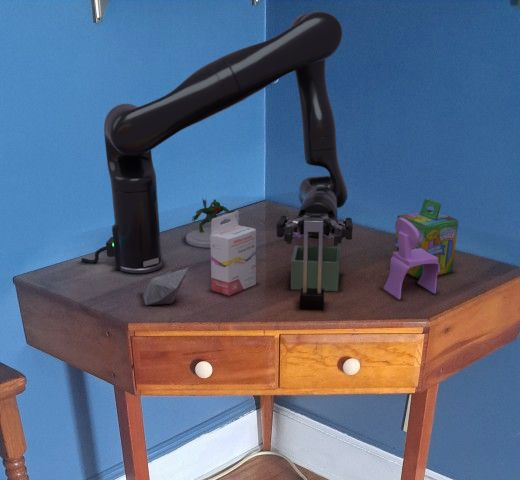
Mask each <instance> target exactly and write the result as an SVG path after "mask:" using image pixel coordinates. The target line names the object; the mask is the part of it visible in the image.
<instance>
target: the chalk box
mask: <svg viewBox="0 0 520 480" xmlns="http://www.w3.org/2000/svg"><path fill="white" fill-rule="evenodd" d="M441 206H442V204H441V202H439V201H435V200H432V199H429V198H425V199H424V200H423V203H422V207H421V210H419V211H414V212H409V213H404V214H399V215H397V217H396V218H397V219H398V218H400V217H402V218H404V219H406V220H408V221H409V222H410V223H412V224H413V225H414V226H415V227H416V229H417V230H418V232H419V236H420V239H419V245H418V246H417V247H414V248H413V249H418V248H422V249H423V250H425V251H426V252H428V253H430V254H431V255H434V256H436V257H438V263H439V270H438V275H437V277H438V276H441V275H446V274H450V273H452V272H453V267H454V266H453V265H454V258H455V250H456V243H457V236H458V235H457V234H458V229H459V228H458V227H459V220H458V219H457V218H455V217H452V216H450V215H447V214H444V213H441V212H440V210H441ZM428 207H432V208H433V210H432V209H428ZM397 219H396V220H397ZM393 248H394V250H393V252H397V251H399V243H398V233H397V231H396V230H395V240H394V247H393ZM413 249H412V250H413ZM423 270H424V265H423V264H421V265H417V266H413V267H411V268H409V270H408V271H407V273H406V275H409V276H411V277H413V278H416V280H418V281H419V280H420V278H421V276H422V273H423Z"/></svg>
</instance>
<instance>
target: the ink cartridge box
mask: <svg viewBox="0 0 520 480" xmlns="http://www.w3.org/2000/svg"><path fill="white" fill-rule="evenodd" d="M234 211H235V212H232V213H225V214H222V215H220V216H216V217H217V218H213V219H212V221H210V228H211V235H210V244H211V248H210V272H211V273H210V274H211V276H210V277H211V291H212V292H215V293H218V294H221V295H225V296H228V297H230V296H232V295H234V294H237V293H239V292H241V291H244V290H246V289H248V288H252V287H253V286H256V285H257V229H256V228H253V227H249V226H244V225H240V224H239V223H240V222H239V219H240V210H234ZM225 220H229V222H225V223H222V222H224V221H225ZM220 223H221V224H220Z"/></svg>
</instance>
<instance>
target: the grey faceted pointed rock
mask: <svg viewBox="0 0 520 480" xmlns="http://www.w3.org/2000/svg"><path fill="white" fill-rule="evenodd" d="M189 269H190V267H186V268H181V269H179V270H176V271H173V270H169V271H166V273H165V274H163V275H159V276H155V277H153V278H151V279H150V280H149V283H148V284H147V286H146V287H145V289H144V292H143V293H142V296H143V301H144V305H145V306H154V305H155V306H156V305H170V304H172V303H173V302H174V301H175V298H176V297H177V294H178V292H179V290H180V288H181V286H182V284H183V281H184V279H186V278H185V277H186V275H187V273H188V272H189Z"/></svg>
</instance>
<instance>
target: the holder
mask: <svg viewBox="0 0 520 480" xmlns="http://www.w3.org/2000/svg"><path fill="white" fill-rule="evenodd" d="M318 247H319V245H316V246H315V245H314V246H313V245H308V281H307V288H317V284H318ZM341 251H342V247H341V246H323V258H322V289H324V292H338V291H339V284H340V271H341ZM303 257H304V245H295V246H294V248H293V253H292V256H291V259H290V289H291V290H298V291H299V290H300V291H301V288H303Z"/></svg>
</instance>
